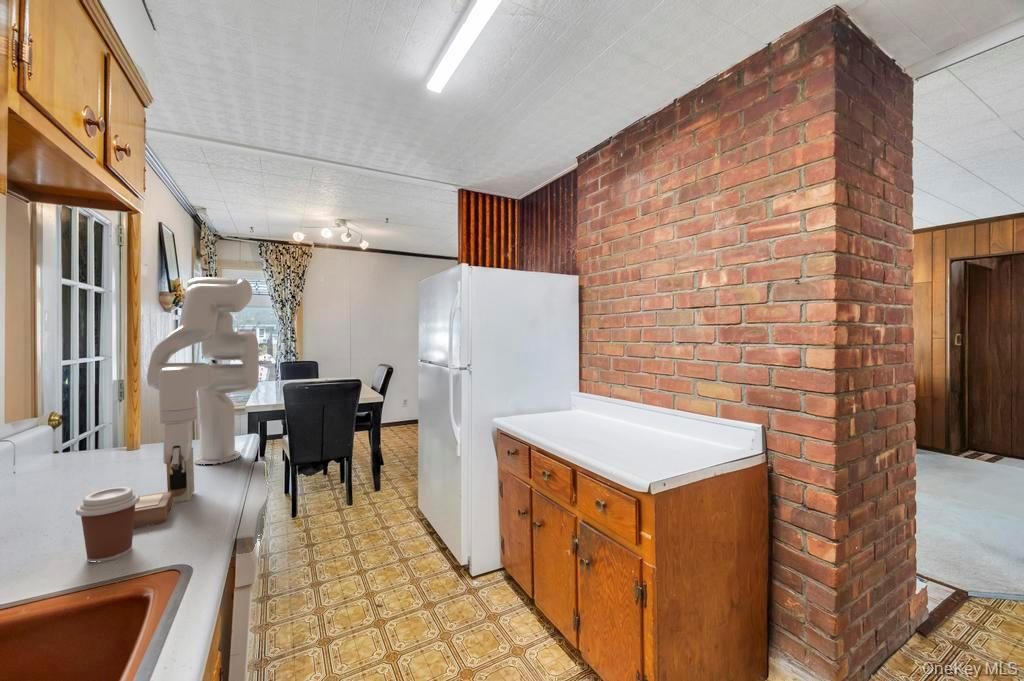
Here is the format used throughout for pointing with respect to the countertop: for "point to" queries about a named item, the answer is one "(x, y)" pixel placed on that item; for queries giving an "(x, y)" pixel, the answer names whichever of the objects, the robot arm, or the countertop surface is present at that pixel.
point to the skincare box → (189, 469)
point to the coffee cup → (108, 522)
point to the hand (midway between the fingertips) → (180, 483)
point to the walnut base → (153, 509)
